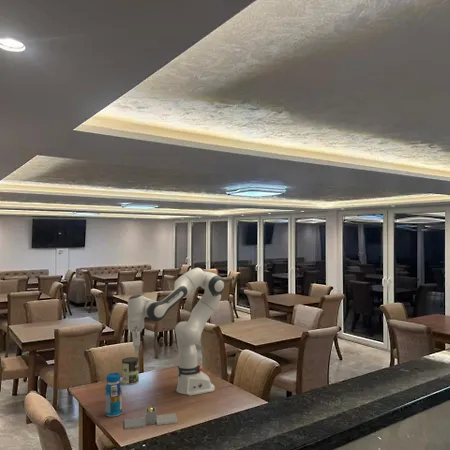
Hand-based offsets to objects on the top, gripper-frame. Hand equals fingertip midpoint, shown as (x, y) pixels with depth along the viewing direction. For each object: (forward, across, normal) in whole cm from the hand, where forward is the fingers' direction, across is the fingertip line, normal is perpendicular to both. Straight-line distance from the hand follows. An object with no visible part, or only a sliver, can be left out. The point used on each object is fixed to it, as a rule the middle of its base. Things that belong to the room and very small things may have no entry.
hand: (136, 350), depth 227 cm
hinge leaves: (+29, -23, -6) cm, 38 cm away
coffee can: (+29, +38, +3) cm, 48 cm away
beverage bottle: (+29, -8, +12) cm, 33 cm away
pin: (+29, -23, -6) cm, 37 cm away
